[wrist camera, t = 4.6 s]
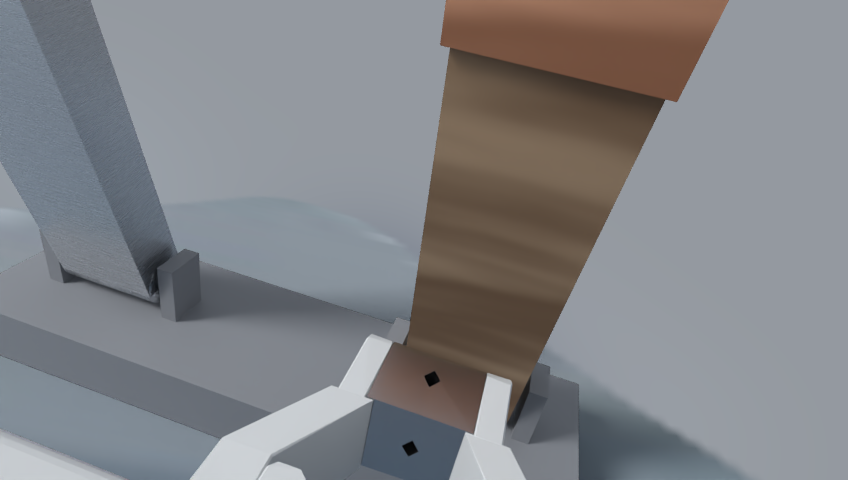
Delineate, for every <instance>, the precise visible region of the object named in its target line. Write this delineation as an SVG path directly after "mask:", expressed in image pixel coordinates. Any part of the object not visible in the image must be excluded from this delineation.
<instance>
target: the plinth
mask: <svg viewBox="0 0 848 480" xmlns="http://www.w3.org/2000/svg"><path fill="white" fill-rule="evenodd" d="M39 231H40V235H41V239H42V244H43V248H44V250H43V251H42V252H40V253H38V254H36V255H34V256H32V257H30V258H28V259H26V260H24V261H22V262H20V263H18V264H16V265H15V266H13V267H11V268H9V269H7V270H5V271H3V272H1V273H0V355H1V356H4V357H6V358H9V359H12V360H14V361H17V362H20V363H22V364H25V365H28V366H30V367H33V368H35V369H38V370H41V371H43V372H46V373H49V374H51V375H54V376H57V377H59V378H62V379H65V380H67V381H70V382H72V383H75V384H78V385H80V386H83V387H86V388H88V389H91V390H94V391H96V392H99V393H102V394H104V395H107V396H109V397H112V398H115V399H117V400H120V401H123V402H125V403H128V404H131V405H133V406H136V407H139V408H141V409H144V410H147V411H149V412H152V413H154V414H157V415H160V416H162V417H165V418H168V419H170V420H173V421H176V422H178V423H181V424H184V425H186V426H189V427H191V428H194V429H197V430H199V431H202V432H205V433H207V434H210V435H213V436H215V437H218V438H222V437H224V436H226V435H228V434H230V433H233V432H235V431H237V430H239V429H241V428H243V427H245V426H247V425H249V424H251V423H254V422H256V421H258V420H260V419H262V418H264V417H266V416H268V415H270V414H272V413H275V412H277V411H279V410H281V409H283V408H285V407H287V406H289V405H291V404H293V403H296V402H298V401H300V400H302V399H304V398H306V397H308V396H310V395H312V394H314V393H317V392H319V391H321V390H323V389H325V388H327V387H329V386H331V385H332V386H335V387H338V388H339V386H340V384H341V382H342V381H343V379H344V377H345V375H346V374H347V372H348V370H349V368H350V367H351V365H352V363H353V361H354V360H355V358H356V356H357V354H358V353H359V351H360V349H361V347H362V346H363V344H364V342H365V340H366V339H367V337H369V336H370V335H371V334H373V335H376V336H379V337H382V338H384V339H387V340H390V341H393V342H397V343H400V344H403V345H405V346H407V340H408V333H409V326H410V321H407V320H404V319H401V318H398V317H397V318H396V320H395V322H394V324H392V323H389V322H386V321H383V320H380V319H377V318H374V317H371V316H368V315H365V314H361V313H358V312H355V311H352V310H349V309H346V308H343V307H340V306H337V305H334V304H331V303H328V302H325V301H321V300H318V299H315V298H312V297H309V296H306V295H303V294H300V293H297V292H294V291H291V290H288V289H285V288H282V287H278V286H275V285H272V284H269V283H266V282H263V281H260V280H257V279H254V278H251V277H248V276H245V275H242V274H238V273H235V272H232V271H229V270H226V269H223V268H220V267H217V266H214V265H211V264H208V263H205V262H202V261H199V253H196V252H193V251H190V250H187V249H184V250H182V251H181V252H179V253H178V254H177V255H175V256H174V257H172V258H171V259H169V260H168V261H167V262H165V263H164V264H162V265H161V266H159V267H158V268H157V275H158V285H159V295H160V303H154V302H151V301H148V300H145V299H142V298H140V297H137V296H134V295H131V294H128V293H125V292H122V291H119V290H116V289H113V288H110V287H107V286H105V285H102V284H99V283H96V282H93V281H90V280H87V279H84V278H81V277H78V276H75V275H72V274H70V273H68V272H66V271H65V270H64V268H63V267H62V265H61V263H60V262H59V260H58V258H57V257H56V255H55V253H54V251H53V250H52V248H51V246H50V245H49V243H48V241H47V240H46V238H45V236H44V235H43V233H42V231H41V230H40V229H39ZM503 446H506V447H509V448H511V450H512V452H513V454H514V456H515V458H516V460H517V462H518V464H519V466H520V468H521V470H522V472H523V474H524V476H525V478H526V480H579V384H577V383H574V382H571V381H567V380H564V379H561V378H558V377H555V376H552V375H550V367H549V366H546V365H543V364H540V363H536V365H535V367H534V369H533V371H532V373H531V375H530V377H529V379H528V381H527V384H526V386H525V388H524V390H523V392H522V394H521V396H520V398H519V400H518V402H517V404H516V406H515V408H514V410H513V412H512V414H511V416H510V418H509V420H508V422H507V423H506V430H505V437H504V444H503ZM402 478H403V477H402ZM344 480H403V479H400V478H397V477H394V476H391V475H388V474H385V473H382V472H380V471H377V470H374V469H371V468H368V467H365V466H362V465H360V468H359V469H357V470H356V471H355V472H353V473H352V474H351V475H349V476H348V477H347V478H345V479H344Z"/></svg>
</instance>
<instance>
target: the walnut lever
mask: <svg viewBox="0 0 848 480" xmlns="http://www.w3.org/2000/svg"><path fill="white" fill-rule="evenodd" d="M728 1H729V0H446V5H445V12H444V20H443V28H442V35H441V43H440V45H441V46H445V47H450V53H449V59H448V66H447V73H446V80H445V87H444V93H443V101H442V107H441V114H440V120H439V127H438V134H437V141H436V148H435V155H434V162H433V169H432V175H431V182H430V189H429V196H428V203H427V210H426V217H425V224H424V230H423V237H422V244H421V251H420V258H419V264H418V271H417V278H416V285H415V292H414V299H413V306H412V312H411V319H410V326H409V333H408V340H407V346H408V347H411V348H414V349H417V350H419V351H422V352H425V353H428V354H430V355H433V356H436V357H439V358H442V359H445V360H448V361H451V362H454V363H458V364H461V365H464V366H467V367H470V368H473V369H476V370H479V371H482V372H485V373H486V374H487V373H490V374H493V375H496V376H499V377H502V378H505V379H509V380H511V382H512V390H511V397H510V403H509V410H508V417H507V422H508V420H509V418H510V416H511V414H512V412H513V410H514V408H515V406H516V404H517V402H518V400H519V398H520V396H521V394H522V392H523V390H524V388H525V386H526V384H527V381H528V379H529V377H530V375H531V373H532V371H533V369H534V367H535V365H536V363H537V361H538V359H539V357H540V355H541V353H542V351H543V349H544V347H545V345H546V343H547V341H548V339H549V337H550V334H551V332H552V330H553V328H554V326H555V324H556V322H557V320H558V318H559V316H560V314H561V312H562V310H563V308H564V306H565V304H566V302H567V300H568V297H569V296H570V294H571V291H572V289H573V287H574V285H575V283H576V281H577V279H578V277H579V275H580V273H581V271H582V269H583V267H584V265H585V263H586V261H587V259H588V257H589V255H590V253H591V251H592V248H593V247H594V245H595V242H596V240H597V238H598V236H599V234H600V232H601V230H602V228H603V226H604V224H605V222H606V220H607V218H608V216H609V214H610V212H611V209H612V208H613V206H614V204H615V202H616V199H617V198H618V195H619V193H620V191H621V189H622V187H623V185H624V183H625V181H626V179H627V177H628V175H629V173H630V171H631V169H632V167H633V165H634V163H635V160H636V159H637V157H638V155H639V153H640V150H641V148H642V146H643V144H644V142H645V140H646V138H647V136H648V134H649V132H650V130H651V128H652V126H653V124H654V122H655V120H656V118H657V116H658V114H659V111H660V110H661V108H662V106H663V104H664V101H665V99H666V100H671V101H674V102H677V101H678V99H679V97H680V95H681V93H682V91H683V89H684V87H685V85H686V83H687V81H688V79H689V78H690V76H691V73H692V72H693V70H694V68H695V66H696V64H697V62H698V60H699V58H700V56H701V54H702V52H703V50H704V48H705V46H706V44H707V42H708V40H709V38H710V36H711V34H712V32H713V30H714V28H715V26H716V24H717V22H718V21H719V19H720V17H721V15H722V13H723V11H724V9H725V7H726V5H727V3H728Z"/></svg>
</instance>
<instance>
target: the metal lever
mask: <svg viewBox="0 0 848 480" xmlns="http://www.w3.org/2000/svg"><path fill="white" fill-rule="evenodd" d="M0 162H1V164H2V165H3V167H4V168H5V170H6V172H7V174H8V175H9V177H10V179H11V181H12V182H13V184H14V186H15V187H16V189H17V191H18V192H19V194H20V195H21V197H22V199H23V200H24V202H25V204H26V206H27V208H28V209H29V211H30V213H31V214H32V216H33V218H34V219H35V221H36V223H37V224H38V226H39V228H40V230H41V231H42V233H43V235H44V236H45V238H46V240H47V241H48V243H49V245H50V246H51V248H52V250H53V251H54V253H55V255H56V257H57V258H58V260H59V262H60V263H61V265H62V267H63V268H64V270H65V271H66V272H68V273H70V274H72V275H75V276H78V277H81V278H84V279H87V280H90V281H93V282H96V283H99V284H102V285H105V286H107V287H110V288H113V289H116V290H119V291H122V292H125V293H128V294H131V295H134V296H137V297H140V298H142V299H145V300H148V301H151V302H154V303H160V295H159V285H158V275H157V268H158V267H159V266H161V265H162V264H164V263H165V262H167V261H168V260H169V259H171V258H172V257H174V256H175V255H177V254H178V253H177V250H176V248H175V245H174V242H173V239H172V236H171V233H170V230H169V227H168V224H167V221H166V218H165V216H164V213H163V210H162V207H161V204H160V201H159V198H158V195H157V192H156V190H155V187H154V184H153V181H152V178H151V175H150V172H149V170H148V166H147V163H146V160H145V157H144V155H143V152H142V149H141V146H140V143H139V140H138V137H137V134H136V131H135V128H134V125H133V123H132V120H131V117H130V114H129V111H128V108H127V105H126V103H125V100H124V96H123V94H122V91H121V88H120V85H119V82H118V79H117V76H116V73H115V70H114V67H113V64H112V62H111V59H110V56H109V53H108V50H107V47H106V44H105V41H104V38H103V35H102V33H101V30H100V27H99V24H98V21H97V18H96V15H95V12H94V9H93V6H92V3H91V0H0Z"/></svg>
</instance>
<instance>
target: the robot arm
mask: <svg viewBox="0 0 848 480" xmlns="http://www.w3.org/2000/svg"><path fill="white" fill-rule="evenodd" d="M511 390H512V382H511V380H509V379H505V378H502V377H499V376H496V375H493V374H490V373H487V374H486V373H485V372H482V371H479V370H476V369H473V368H470V367H467V366H464V365H461V364H458V363H454V362H451V361H448V360H445V359H442V358H439V357H436V356H433V355H430V354H428V353H425V352H422V351H419V350H417V349H414V348H411V347H408V346H405V345H403V344H400V343H397V342H393V341H390V340H387V339H384V338H382V337H379V336H376V335H373V334H371V335H370V336H369V337H367V339H366V340H365V342H364V344H363V346H362V347H361V349H360V351H359V353H358V354H357V356H356V358H355V360H354V361H353V363H352V365H351V367H350V368H349V370H348V372H347V374H346V375H345V377H344V379H343V381H342V382H341V384H340V386H339V388H338V387H335V386H332V385H331V386H329V387H327V388H325V389H323V390H321V391H319V392H317V393H314V394H312V395H310V396H308V397H306V398H304V399H302V400H300V401H298V402H296V403H293V404H291V405H289V406H287V407H285V408H283V409H281V410H279V411H277V412H275V413H272V414H270V415H268V416H266V417H264V418H262V419H260V420H258V421H256V422H254V423H251V424H249V425H247V426H245V427H243V428H241V429H239V430H237V431H235V432H233V433H230V434H228V435H226V436H224V437H222V438H221V440H220V441H219V442H218V444H217V445H216V446H215V447H214V449H213V450H212V451H211V453H210V454H209V455H208V457H207V458H206V459H205V460H204V462H203V463H202V464H201V466H200V467H199V468H198V470H197V471H196V472H195V473H194V475H193V476H192V477H191V479H190V480H344V479H345V478H347V477H348V476H349V475H351V474H352V473H353V472H355V471H356V470H357V469H359V468H360V465H362V466H365V467H368V468H371V469H374V470H377V471H380V472H382V473H385V474H388V475H391V476H394V477H397V478H400V479H403V480H526V478H525V476H524V474H523V472H522V470H521V468H520V466H519V464H518V462H517V460H516V458H515V456H514V454H513V452H512V450H511V448H509V447H506V446H503V444H504V437H505V430H506V423H507V417H508V410H509V403H510V397H511ZM402 477H403V478H402ZM0 480H128V479H126V478H123V477H121V476H118V475H116V474H113V473H111V472H108V471H106V470H103V469H101V468H98V467H96V466H93V465H91V464H88V463H86V462H83V461H81V460H78V459H76V458H73V457H71V456H68V455H66V454H63V453H61V452H58V451H56V450H53V449H51V448H48V447H46V446H43V445H41V444H38V443H36V442H33V441H31V440H28V439H26V438H23V437H21V436H18V435H16V434H13V433H11V432H8V431H6V430H3V429H1V428H0Z"/></svg>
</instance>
